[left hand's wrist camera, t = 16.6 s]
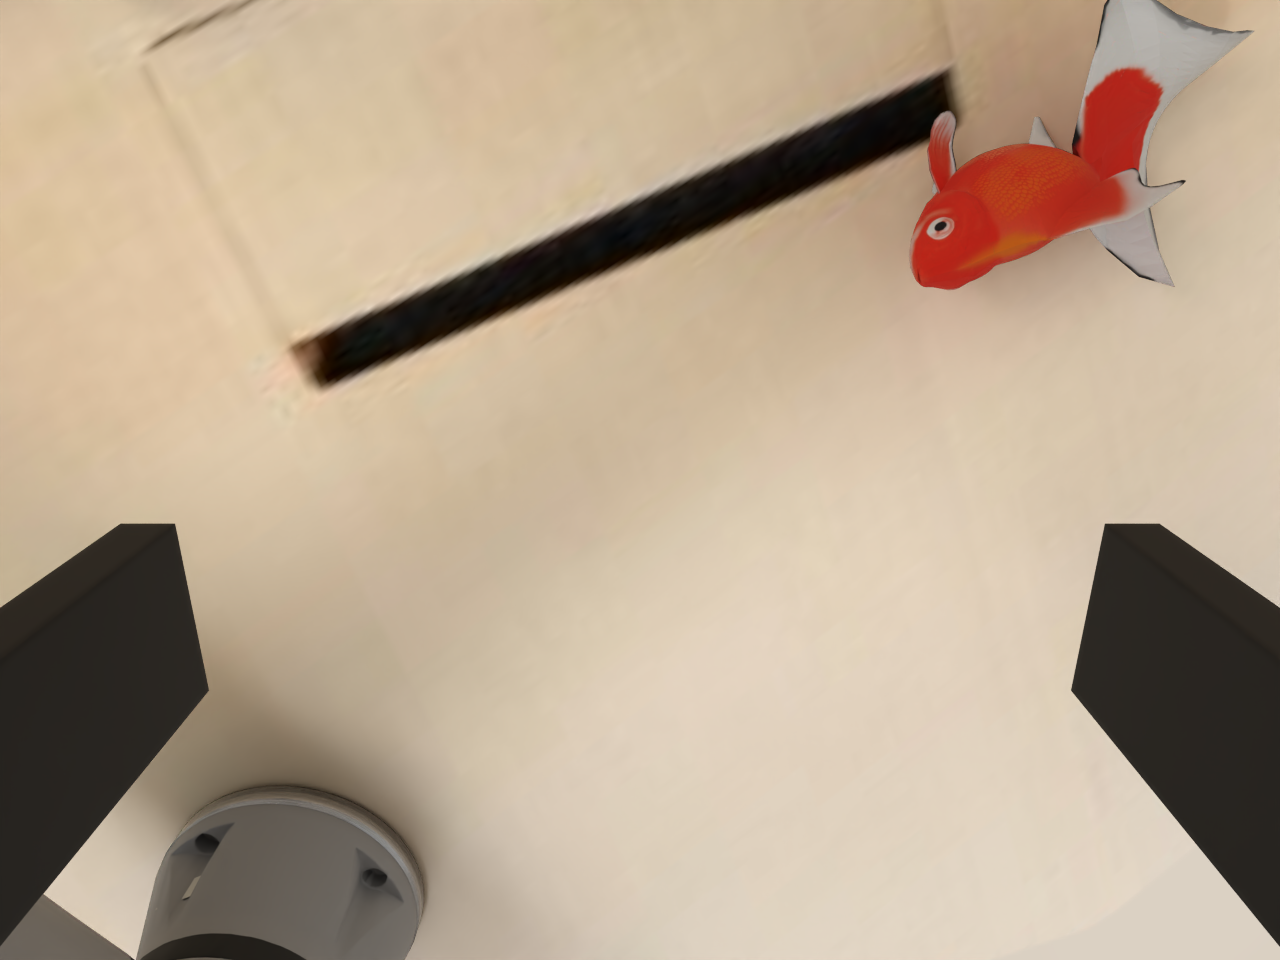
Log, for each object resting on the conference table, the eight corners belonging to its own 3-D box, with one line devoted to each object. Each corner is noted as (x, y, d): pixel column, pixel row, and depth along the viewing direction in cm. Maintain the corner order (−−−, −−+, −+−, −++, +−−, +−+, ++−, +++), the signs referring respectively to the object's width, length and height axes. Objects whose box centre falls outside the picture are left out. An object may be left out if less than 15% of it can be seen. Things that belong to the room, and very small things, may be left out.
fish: (837, 32, 32) (1063, 75, 25) (1127, -57, 37) (1387, -43, 30) (836, 294, 39) (1013, 387, 32) (1081, 190, 44) (1284, 250, 36)
